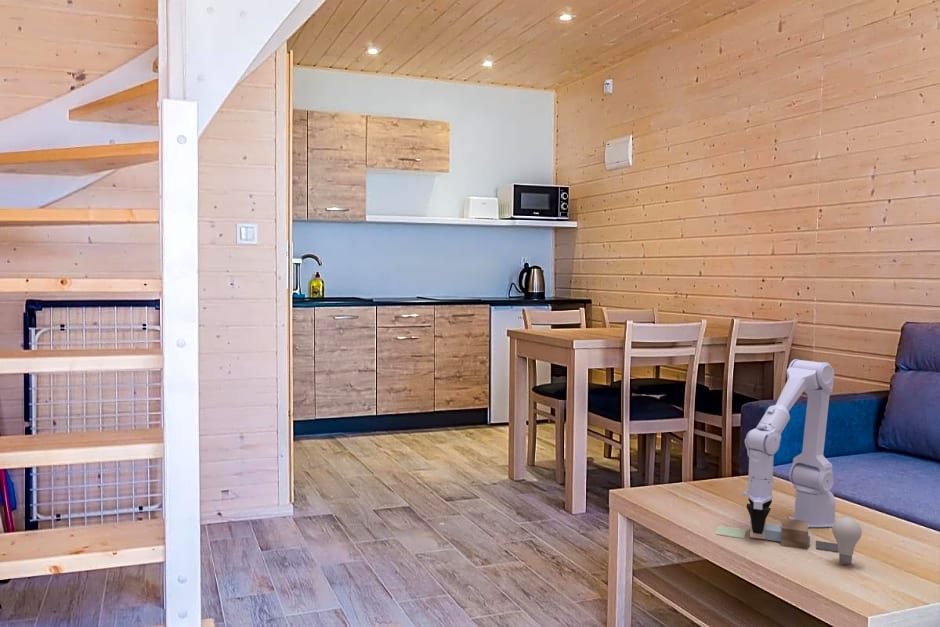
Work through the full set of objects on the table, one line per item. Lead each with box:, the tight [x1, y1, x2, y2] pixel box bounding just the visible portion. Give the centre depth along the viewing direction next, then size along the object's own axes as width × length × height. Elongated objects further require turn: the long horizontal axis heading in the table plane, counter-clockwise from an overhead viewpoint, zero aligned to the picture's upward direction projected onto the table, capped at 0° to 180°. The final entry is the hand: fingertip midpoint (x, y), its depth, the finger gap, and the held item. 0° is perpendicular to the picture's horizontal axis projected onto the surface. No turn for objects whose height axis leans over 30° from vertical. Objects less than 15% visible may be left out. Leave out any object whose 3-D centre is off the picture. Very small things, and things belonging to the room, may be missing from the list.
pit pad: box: [815, 540, 839, 554], centre depth 187 cm, size 6×6×1 cm
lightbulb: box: [831, 516, 863, 566], centre depth 176 cm, size 6×6×11 cm
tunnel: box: [780, 517, 809, 551], centre depth 190 cm, size 6×9×4 cm
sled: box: [749, 516, 811, 547], centre depth 192 cm, size 14×5×6 cm, turn 66°
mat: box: [714, 525, 747, 539], centre depth 197 cm, size 7×7×1 cm
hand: (758, 529), depth 194 cm, fingers closed on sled, 5 cm apart
